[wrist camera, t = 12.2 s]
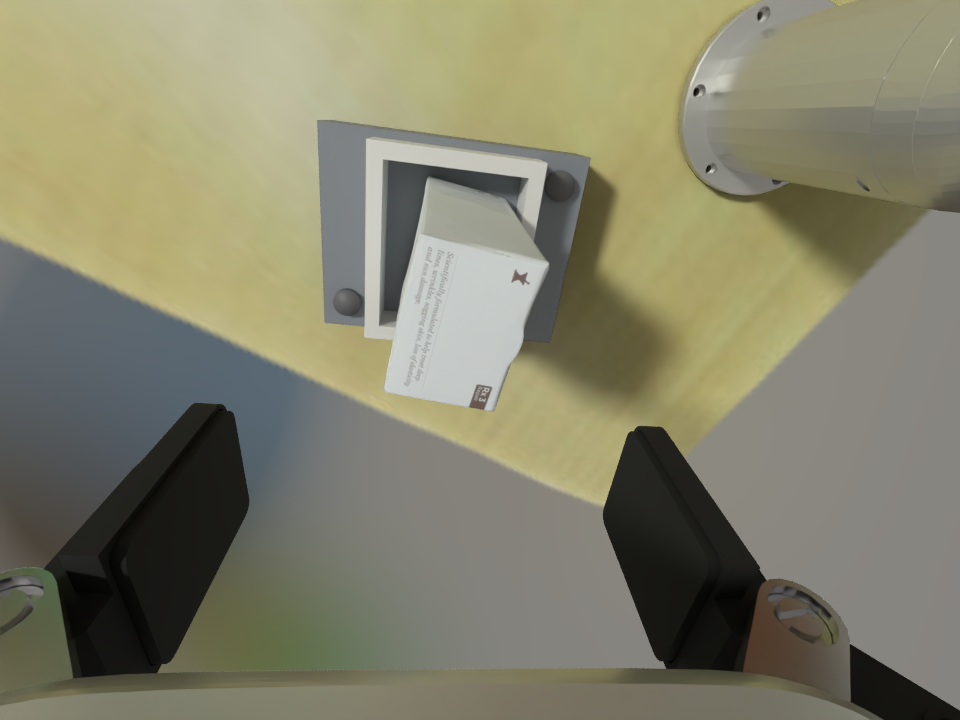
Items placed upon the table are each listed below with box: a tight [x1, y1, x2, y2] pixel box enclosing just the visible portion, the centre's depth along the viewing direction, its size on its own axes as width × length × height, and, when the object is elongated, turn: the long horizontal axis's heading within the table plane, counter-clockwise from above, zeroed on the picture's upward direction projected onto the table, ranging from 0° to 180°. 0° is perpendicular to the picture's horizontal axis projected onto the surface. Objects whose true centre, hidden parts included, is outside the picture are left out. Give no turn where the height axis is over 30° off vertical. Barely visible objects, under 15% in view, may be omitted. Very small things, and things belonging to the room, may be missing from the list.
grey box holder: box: [317, 120, 591, 343], centre depth 33 cm, size 18×14×7 cm
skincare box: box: [384, 176, 549, 412], centre depth 26 cm, size 8×6×15 cm
